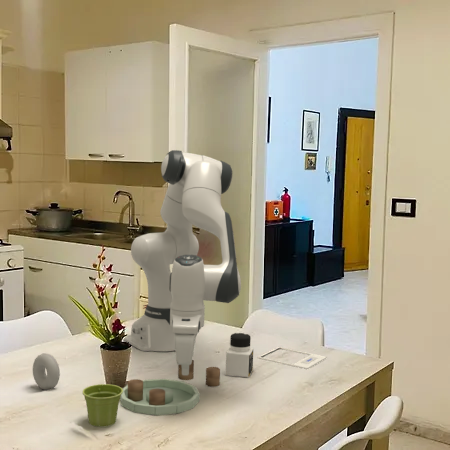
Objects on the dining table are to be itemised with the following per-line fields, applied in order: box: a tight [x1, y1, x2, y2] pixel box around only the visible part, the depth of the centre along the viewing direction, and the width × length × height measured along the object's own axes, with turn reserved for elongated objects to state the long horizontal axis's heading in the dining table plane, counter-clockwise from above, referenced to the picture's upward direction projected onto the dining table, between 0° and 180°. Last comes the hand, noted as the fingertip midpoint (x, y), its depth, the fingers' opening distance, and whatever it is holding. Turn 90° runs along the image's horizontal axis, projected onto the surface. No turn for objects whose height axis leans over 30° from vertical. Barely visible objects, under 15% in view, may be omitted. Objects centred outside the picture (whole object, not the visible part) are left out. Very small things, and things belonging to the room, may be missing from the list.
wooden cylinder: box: [205, 366, 221, 388], centre depth 185 cm, size 4×4×4 cm
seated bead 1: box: [127, 378, 143, 402], centre depth 169 cm, size 4×4×4 cm
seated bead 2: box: [149, 389, 165, 406], centre depth 163 cm, size 4×4×4 cm
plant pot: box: [82, 383, 123, 428], centre depth 154 cm, size 9×9×9 cm
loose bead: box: [177, 359, 195, 381], centre depth 168 cm, size 4×4×4 cm
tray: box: [119, 378, 200, 416], centre depth 169 cm, size 20×20×3 cm
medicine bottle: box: [225, 332, 254, 378], centre depth 195 cm, size 7×7×12 cm
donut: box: [32, 352, 61, 391], centre depth 177 cm, size 10×3×10 cm, turn 50°
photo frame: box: [256, 346, 328, 370], centre depth 212 cm, size 15×1×18 cm
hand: (186, 371), depth 168 cm, fingers closed on loose bead, 4 cm apart
